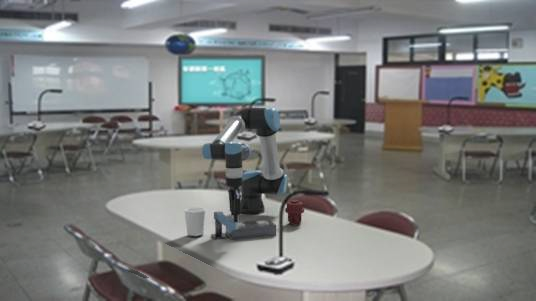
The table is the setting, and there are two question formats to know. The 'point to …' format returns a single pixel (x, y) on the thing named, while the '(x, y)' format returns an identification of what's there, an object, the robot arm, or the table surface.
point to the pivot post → (218, 231)
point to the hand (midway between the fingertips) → (235, 228)
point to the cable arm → (224, 220)
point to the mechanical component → (294, 212)
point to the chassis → (253, 229)
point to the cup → (195, 221)
